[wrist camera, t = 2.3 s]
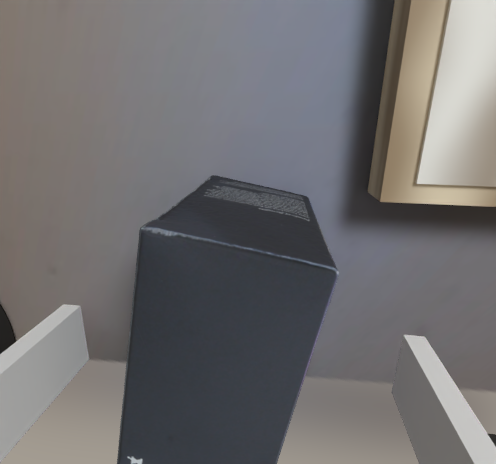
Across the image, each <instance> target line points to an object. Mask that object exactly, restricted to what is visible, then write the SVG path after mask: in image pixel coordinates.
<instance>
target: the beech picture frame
mask: <svg viewBox="0 0 496 464" xmlns="http://www.w3.org/2000/svg"><path fill="white" fill-rule="evenodd" d="M368 193H369V194H371V195H372V196H373V197H374V198H376V199H377V200H378V201H380V202H394V203H418V204H441V205H464V206H488V207H496V0H395V2H394V9H393V16H392V23H391V30H390V37H389V44H388V51H387V58H386V66H385V73H384V80H383V87H382V94H381V101H380V108H379V115H378V122H377V129H376V136H375V143H374V150H373V157H372V164H371V171H370V178H369V185H368Z"/></svg>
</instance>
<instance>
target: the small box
mask: <svg viewBox="0 0 496 464" xmlns="http://www.w3.org/2000/svg"><path fill="white" fill-rule="evenodd" d="M338 276H339V271H338V270H337V268H336V265H335V263H334V261H333V258H332V256H331V253H330V251H329V248H328V246H327V244H326V241H325V239H324V236H323V234H322V231H321V229H320V226H319V224H318V222H317V219H316V217H315V214H314V211H313V209H312V206H311V203H310V201H309V198H308V197H306V196H303V195H298V194H294V193H291V192H286V191H282V190H277V189H273V188H269V187H264V186H260V185H255V184H251V183H246V182H241V181H237V180H233V179H228V178H224V177H219V176H211V177H209V178H208V179H207V180H206V181H205V182H204V183H203V184H202V185H200V186H199V187H198V188H197V189H195V190H194V191H193V192H192V193H190V194H189V195H187V196H186V197H185V198H184V199H182V200H181V201H180V202H179V203H177V204H176V206H173V207H172V208H171V209H170V210H168V211H167V212H166V213H164V214H162V215H160V216H159V217H158V218H156V219H155V220H152V221H150V222H148V223H146V224H145V225H144V226H142V227H141V228H140V232H139V244H138V253H137V263H136V273H135V284H134V292H133V304H132V313H131V324H130V335H129V343H128V353H127V365H126V376H125V385H124V386H125V387H124V397H123V406H122V416H121V417H122V418H121V426H120V438H119V450H118V459H117V464H277V461H278V458H279V455H280V452H281V449H282V446H283V443H284V439H285V436H286V433H287V430H288V427H289V424H290V421H291V418H292V415H293V411H294V408H295V405H296V402H297V399H298V396H299V393H300V390H301V387H302V384H303V381H304V378H305V375H306V372H307V369H308V366H309V363H310V360H311V357H312V354H313V351H314V348H315V345H316V342H317V339H318V336H319V333H320V330H321V327H322V324H323V321H324V318H325V315H326V312H327V309H328V306H329V304H330V301H331V298H332V295H333V292H334V289H335V286H336V283H337V280H338Z"/></svg>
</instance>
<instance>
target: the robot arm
mask: <svg viewBox="0 0 496 464" xmlns="http://www.w3.org/2000/svg"><path fill="white" fill-rule="evenodd" d="M88 360H89V355H88V349H87V343H86V337H85V331H84V325H83V319H82V312H81V306H76V305H65V304H63V305H62V306H61V307H60V308H58V309H57V310H56V311H55V312H53V313H52V314H51V315H50V316H48V317H47V318H46V319H44V320H43V321H42V322H41V323H39V324H38V325H37V326H36V327H34V328H33V329H32V330H30V331H29V332H28V333H27V334H25V335H24V336H23V337H22V338H20V339H19V340H18V341H16V342H15V339H14V335H13V332H12V328H11V326H10V323H9V321H8V319H7V316H6V314H5V313H4V311H3V309H2V307H1V306H0V462H1V461H2V460H3V459H4V458H5V456H6V455H7V454H8V453H9V452H10V451H11V450H12V448H13V447H14V446H15V445H16V444H17V443H18V441H19V440H20V439H21V438H22V437H23V435H24V434H25V433H26V432H27V431H28V430H29V429H30V427H31V426H32V425H33V424H34V423H35V422H36V420H37V419H38V418H39V417H40V416H41V415H42V414H43V412H44V411H45V410H46V409H47V408H48V407H49V405H50V404H51V403H52V402H53V401H54V399H55V398H56V397H57V396H58V395H59V394H60V393H61V391H62V390H63V389H64V388H65V387H66V386H67V385H68V383H69V382H70V381H71V380H72V379H73V377H74V376H75V375H76V374H77V373H78V372H79V370H80V369H81V368H82V367H83V366H84V365H85V364H86V362H87V361H88ZM392 394H393V397H394V399H395V402H396V405H397V407H398V410H399V412H400V415H401V418H402V420H403V423H404V425H405V428H406V430H407V433H408V436H409V438H410V441H411V443H412V446H413V448H414V451H415V454H416V457H417V459H418V462H419V464H496V435H495V434H487V432H486V431H485V429H484V428H483V426H482V425H481V423H480V422H479V420H478V419H477V417H476V416H475V414H474V412H473V411H472V409H471V408H470V406H469V405H468V403H467V401H466V400H465V398H464V397H463V395H462V394H461V392H460V391H459V389H458V388H457V386H456V384H455V383H454V381H453V380H452V378H451V377H450V375H449V374H448V372H447V370H446V369H445V367H444V366H443V364H442V363H441V361H440V360H439V358H438V357H437V355H436V353H435V352H434V350H433V349H432V347H431V346H430V344H429V343H428V341H427V339H426V338H425V337H423V336H412V335H403V340H402V344H401V349H400V354H399V359H398V364H397V369H396V374H395V378H394V383H393V388H392Z"/></svg>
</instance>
